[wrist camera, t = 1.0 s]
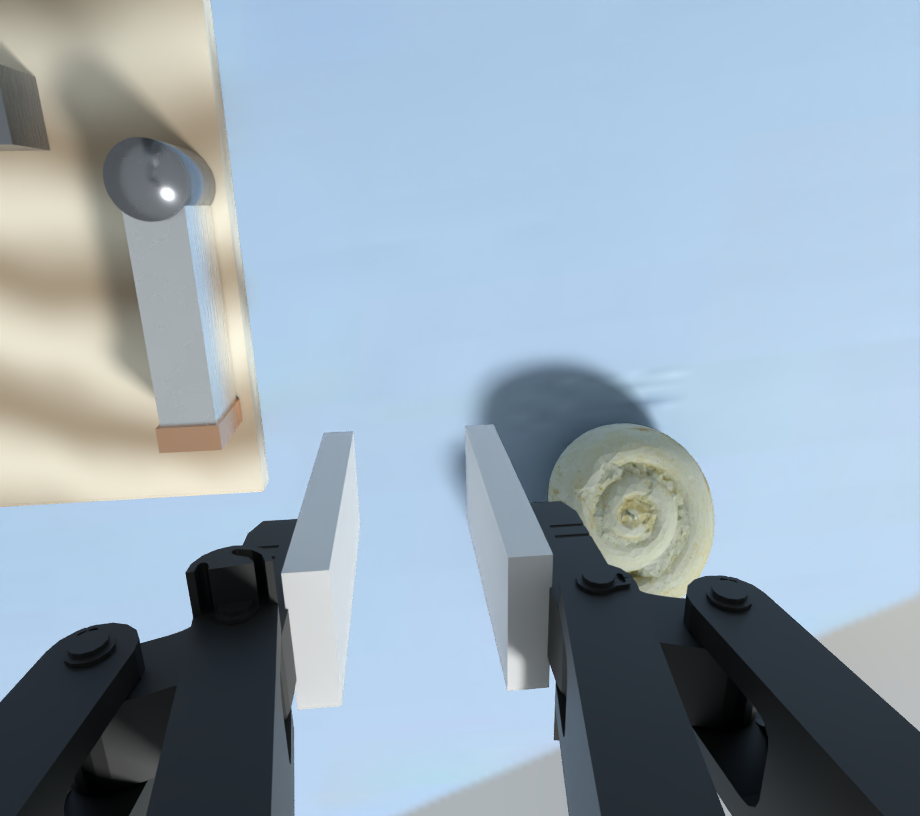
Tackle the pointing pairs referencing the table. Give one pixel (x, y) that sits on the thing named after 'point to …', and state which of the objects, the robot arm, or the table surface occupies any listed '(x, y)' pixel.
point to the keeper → (21, 113)
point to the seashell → (639, 503)
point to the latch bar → (177, 289)
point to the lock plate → (106, 256)
